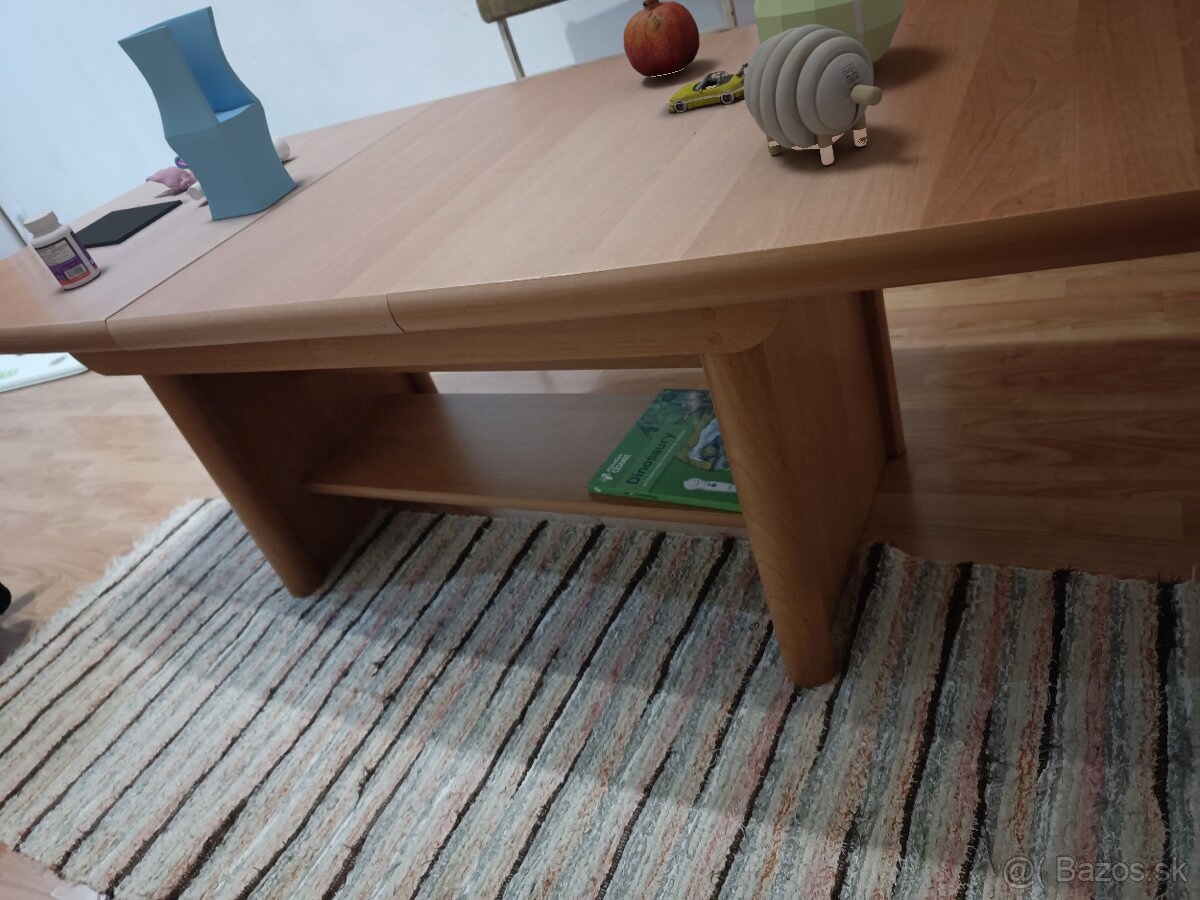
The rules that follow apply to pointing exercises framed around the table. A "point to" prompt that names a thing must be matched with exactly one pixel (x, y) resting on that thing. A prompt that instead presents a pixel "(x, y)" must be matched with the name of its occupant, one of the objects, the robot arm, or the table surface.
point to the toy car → (709, 91)
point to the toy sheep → (809, 87)
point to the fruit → (661, 39)
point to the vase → (210, 114)
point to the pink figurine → (174, 176)
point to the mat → (122, 224)
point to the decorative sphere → (834, 19)
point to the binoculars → (281, 149)
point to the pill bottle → (61, 250)
